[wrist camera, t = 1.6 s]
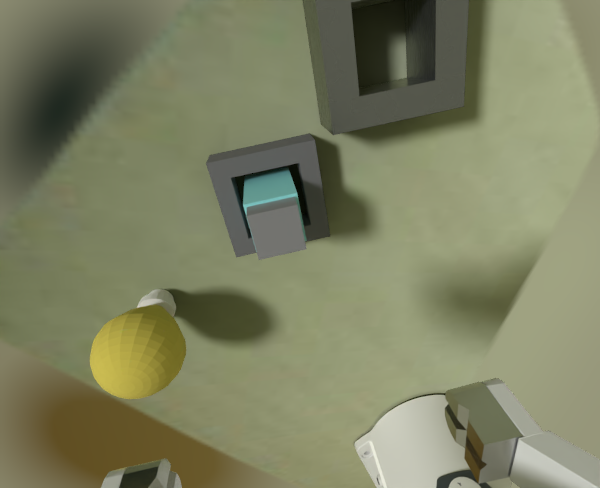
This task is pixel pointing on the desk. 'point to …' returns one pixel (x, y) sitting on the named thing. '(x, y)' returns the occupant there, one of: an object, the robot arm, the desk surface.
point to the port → (395, 94)
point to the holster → (261, 159)
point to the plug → (273, 213)
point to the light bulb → (139, 349)
